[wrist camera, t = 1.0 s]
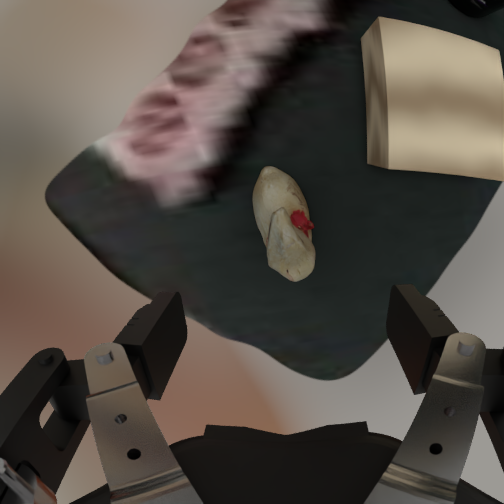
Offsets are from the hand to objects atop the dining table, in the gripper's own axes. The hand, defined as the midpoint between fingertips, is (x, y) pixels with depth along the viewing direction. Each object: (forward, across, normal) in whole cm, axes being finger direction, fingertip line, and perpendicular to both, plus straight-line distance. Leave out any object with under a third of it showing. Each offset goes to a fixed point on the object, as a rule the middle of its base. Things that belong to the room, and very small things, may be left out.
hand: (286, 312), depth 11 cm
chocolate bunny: (+18, 0, 0) cm, 18 cm away
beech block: (+18, -14, -10) cm, 25 cm away
